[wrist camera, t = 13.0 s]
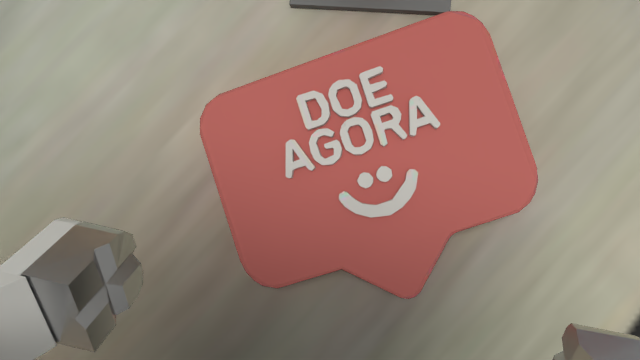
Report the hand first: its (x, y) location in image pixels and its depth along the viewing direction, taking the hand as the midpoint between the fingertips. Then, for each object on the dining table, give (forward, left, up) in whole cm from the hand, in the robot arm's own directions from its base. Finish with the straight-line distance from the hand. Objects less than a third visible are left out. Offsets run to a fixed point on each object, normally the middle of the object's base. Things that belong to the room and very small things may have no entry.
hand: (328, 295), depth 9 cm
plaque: (0, +3, -23) cm, 23 cm away
